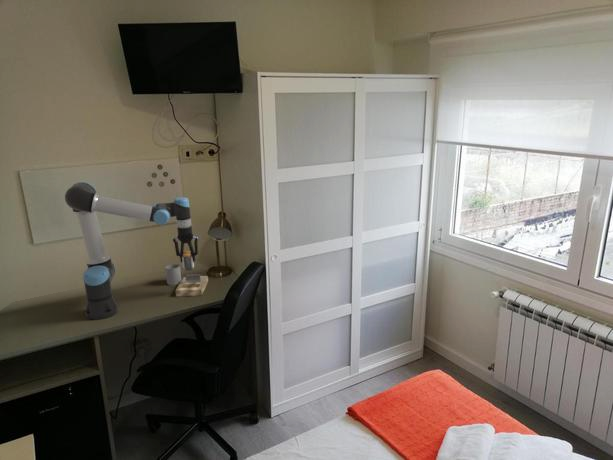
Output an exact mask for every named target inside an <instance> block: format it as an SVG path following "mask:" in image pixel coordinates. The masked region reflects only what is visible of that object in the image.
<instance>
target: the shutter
mask: <svg viewBox="0 0 613 460" xmlns="http://www.w3.org/2000/svg"><path fill="white" fill-rule="evenodd" d="M200 276H201V274H200V273H199V274H197V273H196V274H185V276H183V277H184V278H183V277H182V279H183V280H182V279H181V280H182V282H181V283H203V281H204V279H205V277H200Z"/></svg>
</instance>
